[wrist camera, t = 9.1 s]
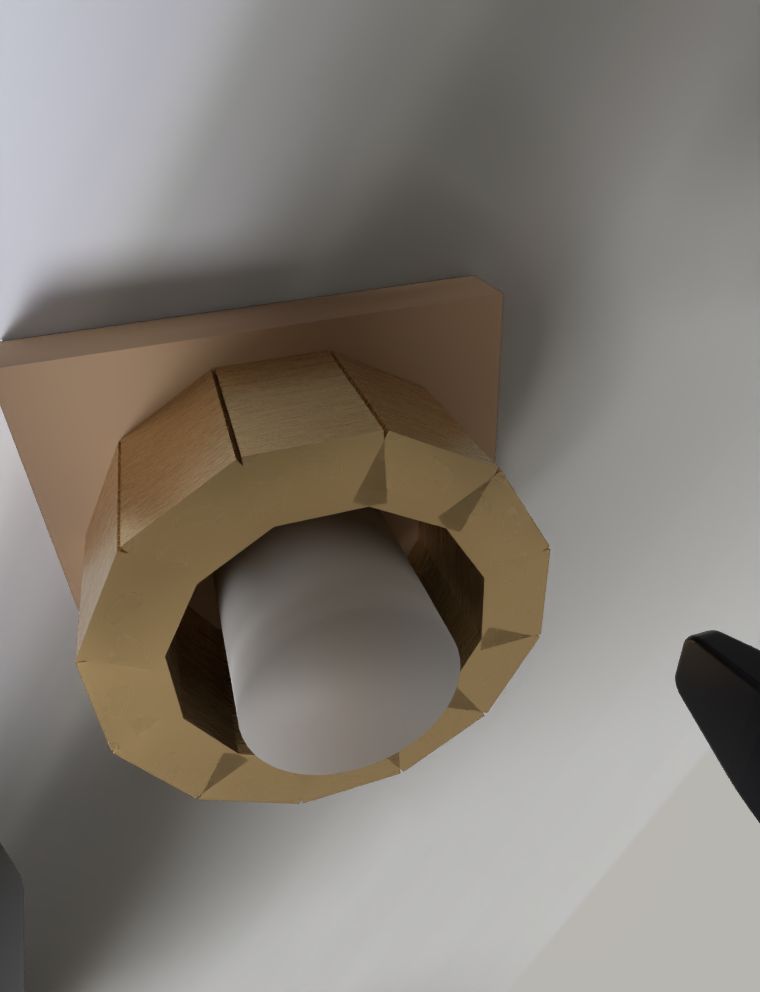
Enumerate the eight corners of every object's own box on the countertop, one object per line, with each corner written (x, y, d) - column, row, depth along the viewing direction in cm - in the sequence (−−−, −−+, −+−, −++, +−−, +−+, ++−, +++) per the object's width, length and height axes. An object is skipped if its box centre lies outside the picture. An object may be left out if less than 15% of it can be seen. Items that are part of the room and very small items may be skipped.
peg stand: (126, 692, 15) (126, 936, 11) (-2, 341, 11) (-81, 522, 7) (465, 606, 17) (578, 787, 13) (473, 275, 13) (650, 383, 8)
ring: (145, 712, 14) (150, 849, 12) (36, 395, 10) (9, 500, 8) (466, 628, 16) (529, 733, 13) (475, 327, 12) (566, 395, 9)
